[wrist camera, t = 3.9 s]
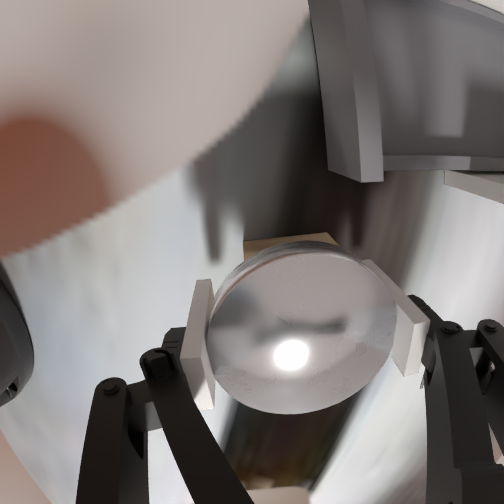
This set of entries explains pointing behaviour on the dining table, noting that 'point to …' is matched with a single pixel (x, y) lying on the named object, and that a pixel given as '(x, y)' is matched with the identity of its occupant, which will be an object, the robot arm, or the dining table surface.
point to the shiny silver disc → (299, 328)
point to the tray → (410, 85)
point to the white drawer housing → (480, 181)
